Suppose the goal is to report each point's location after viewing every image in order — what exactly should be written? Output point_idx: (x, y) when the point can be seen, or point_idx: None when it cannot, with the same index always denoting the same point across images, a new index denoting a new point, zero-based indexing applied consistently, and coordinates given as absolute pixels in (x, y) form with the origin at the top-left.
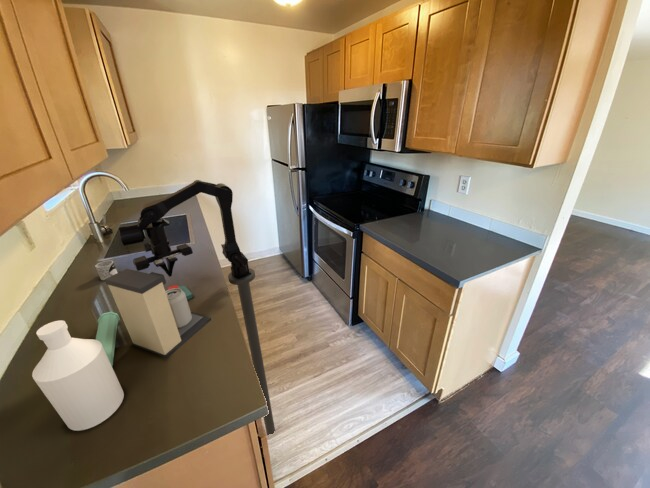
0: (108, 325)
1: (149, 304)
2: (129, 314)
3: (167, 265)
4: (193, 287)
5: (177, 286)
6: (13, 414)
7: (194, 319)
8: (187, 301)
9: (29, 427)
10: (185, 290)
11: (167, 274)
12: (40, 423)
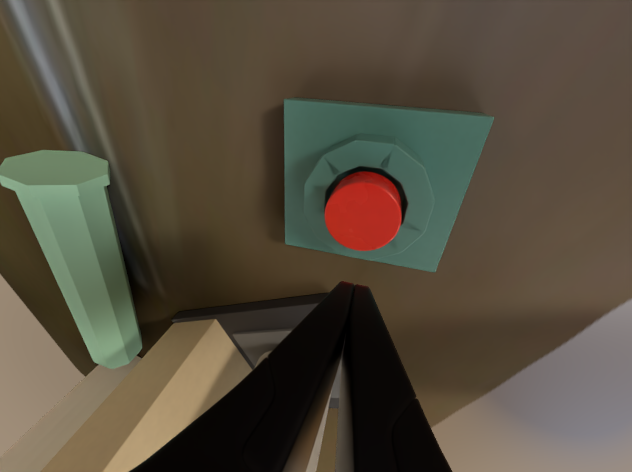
0: (69, 267)
1: None
2: None
3: (351, 442)
4: (529, 149)
5: (393, 230)
6: (23, 296)
7: (334, 387)
8: (316, 467)
9: (64, 335)
10: (439, 204)
11: (329, 294)
12: (76, 340)
